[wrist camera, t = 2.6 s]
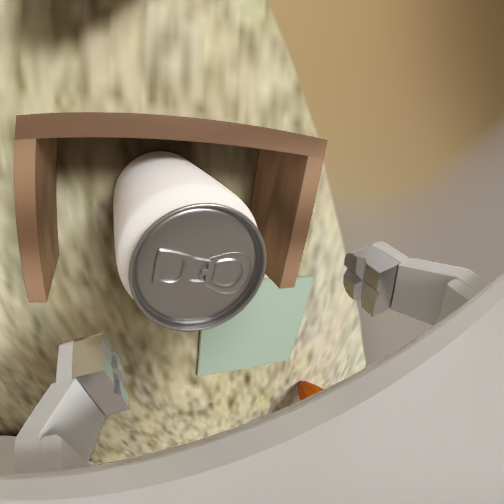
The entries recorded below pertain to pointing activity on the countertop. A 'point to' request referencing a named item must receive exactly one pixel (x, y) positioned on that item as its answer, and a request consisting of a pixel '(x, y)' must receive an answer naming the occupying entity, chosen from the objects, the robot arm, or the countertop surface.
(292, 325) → the mat
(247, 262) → the can
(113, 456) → the countertop surface
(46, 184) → the brown wooden u-shaped frame
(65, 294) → the countertop surface
